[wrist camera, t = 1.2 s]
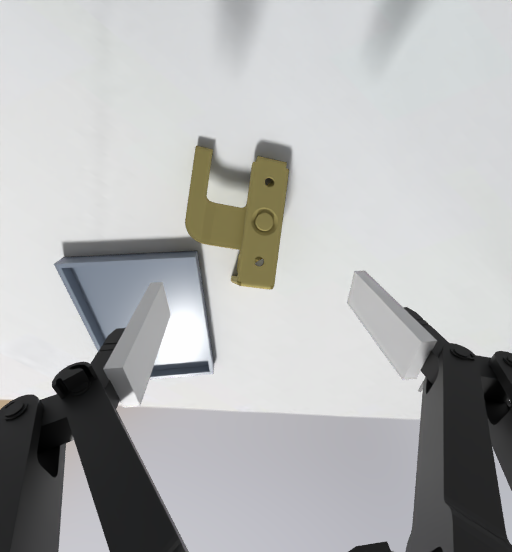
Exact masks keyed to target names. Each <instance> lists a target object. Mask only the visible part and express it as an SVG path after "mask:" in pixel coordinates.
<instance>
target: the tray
mask: <svg viewBox="0 0 512 552" xmlns="http://www.w3.org/2000/svg"><path fill="white" fill-rule="evenodd" d="M54 265H55V267H56V269H57V271H58V273H59V275H60V277H61V279H62V281H63V283H64V285H65V287H66V289H67V291H68V293H69V295H70V297H71V299H72V301H73V303H74V305H75V307H76V309H77V311H78V313H79V315H80V317H81V319H82V321H83V323H84V325H85V327H86V329H87V331H88V333H89V335H90V337H91V339H92V341H93V342H94V344H95V346H96V348H97V350H98V352H99V349H100V348H101V346H102V345H103V343H104V341H105V340H106V338H107V336H108V335H109V334H111V333H112V332H113V331H114V330H115V329H117V328H126V327H127V325H128V323H129V321H130V319H131V317H132V316H133V314H134V312H135V310H136V308H137V307H138V305H139V303H140V301H141V299H142V297H143V296H144V294H145V292H146V290H147V288H148V286H149V285H150V283H155V282H163V286H164V290H165V294H166V298H167V302H168V306H169V310H170V314H171V315H170V318H169V321H168V324H167V327H166V330H165V333H164V336H163V339H162V342H161V345H160V348H159V351H158V354H157V357H156V360H155V363H154V366H153V369H152V372H151V375H150V378H149V379H160V378H171V377H182V376H193V375H204V374H214V360H213V353H212V346H211V340H210V333H209V326H208V319H207V313H206V306H205V299H204V292H203V286H202V279H201V272H200V266H199V259H198V252H197V251H183V252H162V253H141V254H120V255H99V256H78V257H63V258H62V259H61V260H59V261H58V262H56V263H55V264H54Z"/></svg>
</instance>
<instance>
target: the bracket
mask: <svg viewBox="0 0 512 552" xmlns="http://www.w3.org/2000/svg"><path fill="white" fill-rule="evenodd" d="M212 154H213V149H208V148H204V147H200V146H196V149H195V156H194V163H193V170H192V177H191V184H190V191H189V198H188V205H187V212H186V219H185V225H186V229H187V231H188V233H189V235H190V236H191V237H192V238H193V239H194V240H196V241H197V242H200V243H203V244H207V245H213V246H219V247H225V248H232V249H238V250H240V254H239V256H238V262H237V272H238V276H232V277H231V281H232V282H233V283H235V284H237V285H239V286H246V287H254V288H262V289H273V287H274V283H275V275H276V268H277V260H278V252H279V244H280V236H281V229H282V221H283V213H284V205H285V198H286V190H287V182H288V174H289V169H287V168H286V166H287V162H282V161H278V160H273V159H269V158H265V157H260V156H258V157H257V159H256V162H253V163H252V168H251V176H250V183H249V191H248V199H247V204H246V206H245V207H244V208H239V207H233V206H228V205H223V204H218V203H214V202H211V201H209V200H208V199H207V196H206V195H207V187H208V180H209V173H210V166H211V159H212ZM267 178H270V179H272V180H273V181H271V182H270V183H269V184H267V185H266V184H265V180H266V179H267ZM262 258H263V260H264V263H263V265H262V266H257V265H256V264H255V263H256V262H257V261H259V260H261V259H262Z"/></svg>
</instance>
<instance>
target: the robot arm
mask: <svg viewBox="0 0 512 552" xmlns="http://www.w3.org/2000/svg"><path fill="white" fill-rule="evenodd" d="M347 304H348V305H349V306H350V308H351V309H352V310H353V312H354V313H355V315H356V316H357V317H358V319H359V320H360V322H361V323H362V324H363V326H364V327H365V329H366V330H367V331H368V333H369V334H370V335H371V337H372V338H373V340H374V341H375V342H376V344H377V345H378V347H379V348H380V349H381V351H382V352H383V354H384V355H385V356H386V358H387V359H388V360H389V362H390V363H391V365H392V366H393V367H394V369H395V370H396V372H397V373H398V374H399V376H400V377H401V379H402V380H409V379H417V377H418V375H419V373H420V371H421V372H422V373H423V374H424V375H425V376H426V378H425V379H424V381H423V383H422V384H421V386H420V388H419V390H418V391H420V392H421V391H422V389H423V394H422V407H421V421H420V434H419V447H418V461H417V473H416V486H415V500H414V512H413V525H412V531H411V535H410V537H409V540H408V543H407V547H406V552H512V545H511V544H510V543H509V541H508V539H507V535H506V531H505V524H504V518H503V512H502V506H501V499H500V494H499V487H498V481H497V475H496V469H495V462H494V456H493V450H492V447H493V449H494V451H495V454H496V456H497V458H498V460H499V463H500V465H501V467H502V470H503V472H504V474H505V476H506V479H507V481H508V483H509V486H510V488H511V490H512V353H509V352H504V351H498V352H495V354H494V355H493V356H492V358H488V357H482V356H476V355H474V354H473V353H472V352H471V351H470V350H468V349H467V348H465V347H463V346H460V345H457V344H453V343H449V342H447V341H446V340H445V339H444V338H443V337H442V336H441V335H440V334H439V333H438V332H437V331H436V330H435V329H433V328H432V327H431V326H430V325H428V323H427V322H426V321H425V320H423V318H422V317H421V316H419V315H418V314H417V313H416V312H414V311H413V310H411V309H409V308H407V307H404V308H403V307H402V306H401V305H400V304H399V303H398V302H397V301H396V300H395V299H394V298H393V297H392V296H391V295H390V294H389V293H387V292H386V291H385V290H384V289H383V288H382V287H381V286H380V285H379V284H378V283H377V282H376V281H375V280H374V279H373V278H372V277H371V276H370V275H369V274H368V273H367V272H366V271H354V275H353V279H352V284H351V288H350V292H349V296H348V300H347ZM170 315H171V314H170V310H169V306H168V302H167V298H166V294H165V290H164V286H163V282H155V283H150V285H149V286H148V288H147V290H146V292H145V294H144V296H143V297H142V299H141V301H140V303H139V305H138V307H137V308H136V310H135V312H134V314H133V316H132V317H131V319H130V321H129V323H128V325H127V327H126V328H117V329H115V330H114V331H113V332H112V333H111V334H109V335H108V336H107V338H106V340H105V341H104V343H103V345H102V346H101V348H100V349H99V352H98V353H97V354H96V356H95V358H94V359H93V361H92V362H91V364H89V363H88V362H78V363H74V364H72V365H69V366H68V367H66V368H64V369H63V370H61V371H60V372H59V373H58V374H57V375H56V376H55V378H54V380H53V381H52V387H53V389H54V390H55V391H56V393H57V394H56V395H54V396H51V397H48V398H45V399H42V400H39V399H38V397H36V396H35V395H24V396H21V397H18V398H16V399H14V400H12V401H10V402H9V403H8V404H7V405H5V406H4V407H3V408H1V410H0V552H58V548H59V534H60V519H61V506H62V492H63V477H64V463H65V448H66V443H67V442H70V441H72V440H74V441H75V444H76V447H77V450H78V453H79V456H80V459H81V462H82V466H83V468H84V472H85V475H86V478H87V481H88V485H89V488H90V491H91V494H92V497H93V500H94V503H95V507H96V510H97V513H98V516H99V519H100V522H101V525H102V529H103V532H104V535H105V538H106V541H107V544H108V547H109V550H110V552H188V550H187V548H186V546H185V544H184V542H183V540H182V538H181V536H180V534H179V532H178V530H177V528H176V526H175V524H174V522H173V520H172V518H171V516H170V514H169V512H168V510H167V508H166V506H165V505H164V503H163V501H162V499H161V497H160V495H159V493H158V491H157V489H156V487H155V485H154V483H153V481H152V479H151V477H150V475H149V473H148V471H147V469H146V467H145V465H144V463H143V461H142V459H141V458H140V455H139V454H138V452H137V450H136V448H135V446H134V444H133V442H132V440H131V438H130V436H129V434H128V432H127V430H126V428H125V426H124V424H123V422H122V420H121V418H120V416H119V414H118V412H117V411H116V408H117V406H118V403H119V401H120V402H121V404H122V406H123V407H124V408H125V407H135V406H140V405H141V402H142V399H143V396H144V393H145V390H146V387H147V384H148V381H149V378H150V375H151V372H152V369H153V366H154V363H155V360H156V357H157V354H158V351H159V348H160V345H161V342H162V339H163V336H164V333H165V330H166V327H167V324H168V321H169V318H170ZM509 399H510V401H509ZM510 402H511V403H510ZM349 552H393V551H391V550H390V548H389V546H388V543H387V542H381V543H375V544H368V545H362V546H356V547H355V548H353V549H352V550H350V551H349Z"/></svg>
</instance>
